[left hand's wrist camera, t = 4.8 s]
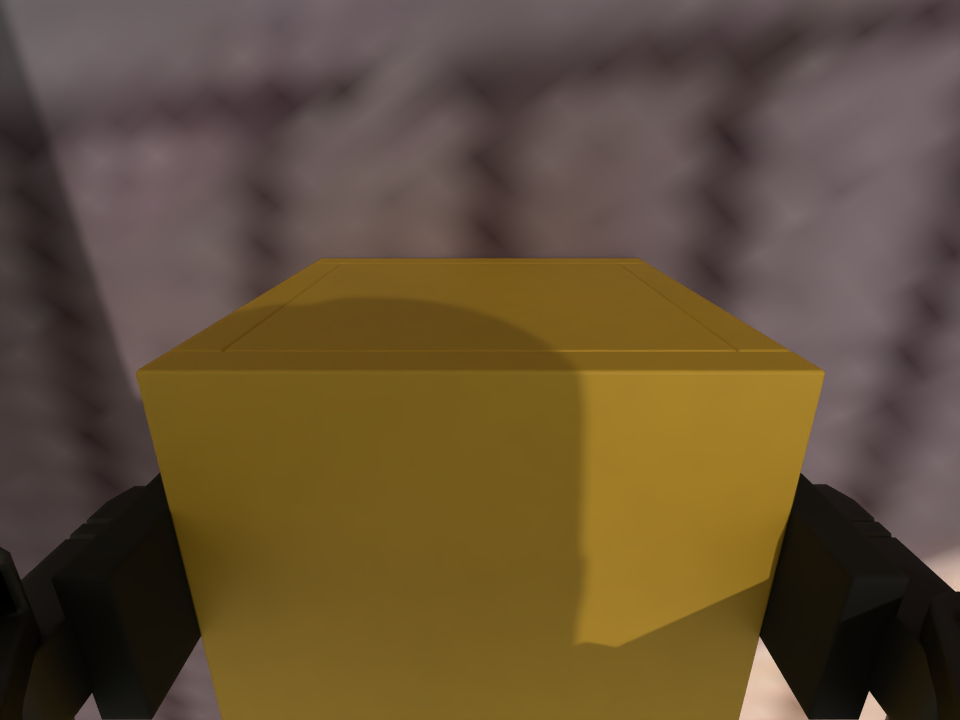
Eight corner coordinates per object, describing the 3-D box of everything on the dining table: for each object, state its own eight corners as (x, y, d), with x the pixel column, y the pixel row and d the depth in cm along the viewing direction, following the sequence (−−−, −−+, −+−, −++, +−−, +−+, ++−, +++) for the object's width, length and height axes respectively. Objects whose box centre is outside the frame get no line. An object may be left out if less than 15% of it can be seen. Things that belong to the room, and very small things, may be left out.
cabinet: (596, 665, 22) (671, 991, 14) (363, 664, 23) (288, 990, 14) (640, 257, 16) (828, 371, 8) (320, 257, 16) (132, 371, 8)
